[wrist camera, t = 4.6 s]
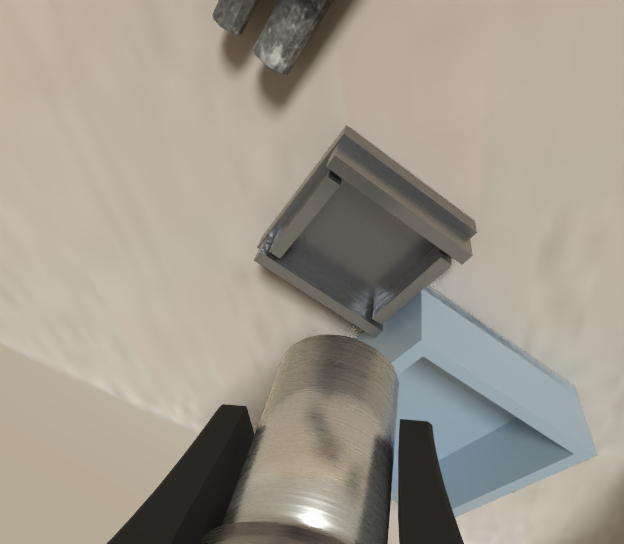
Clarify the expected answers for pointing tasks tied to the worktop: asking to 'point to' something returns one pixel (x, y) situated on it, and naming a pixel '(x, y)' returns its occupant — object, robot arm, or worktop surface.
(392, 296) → the plate
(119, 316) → the worktop surface
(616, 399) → the worktop surface
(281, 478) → the metal capped cylinder
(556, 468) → the bin
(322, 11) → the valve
